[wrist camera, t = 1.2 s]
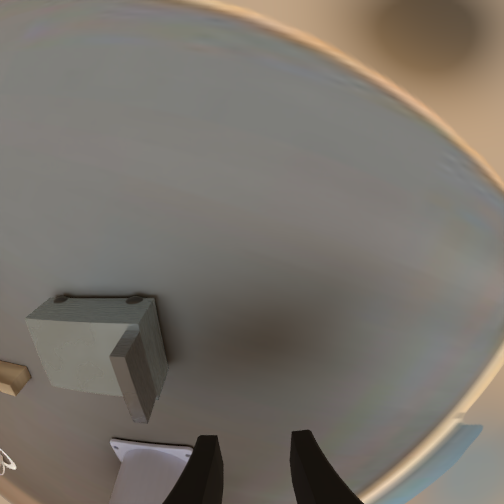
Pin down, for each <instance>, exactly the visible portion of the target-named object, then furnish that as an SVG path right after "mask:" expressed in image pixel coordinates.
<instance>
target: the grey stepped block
mask: <svg viewBox="0 0 504 504" xmlns="http://www.w3.org/2000/svg"><path fill="white" fill-rule="evenodd" d="M25 320H26V323H27V326H28V329H29V332H30V335H31V337H32V340H33V343H34V345H35V348H36V350H37V353H38V355H39V358H40V360H41V363H42V365H43V367H44V370H45V372H46V374H47V376H48V379H49V381H50V383H51V385H52V386H54V387H59V388H65V389H70V390H76V391H82V392H89V393H96V394H103V395H111V396H120V397H124V400H125V402H126V405H127V407H128V410H129V412H130V414H131V417H132V419H133V421H134V422H136V423H146V424H148V421H149V418H150V415H151V412H152V409H153V406H154V403H155V400H159V397H160V394H161V391H162V387H163V384H164V381H165V378H166V375H167V372H168V369H169V367H168V363H167V358H166V354H165V350H164V345H163V340H162V336H161V331H160V326H159V321H158V316H157V310H156V305H155V299H154V298H143V297H140V296H132V297H129V298H68V297H66V296H59V297H57V298H49V299H48V300H47V301H45V302H44V303H43V304H42V305H40V306H39V307H38V308H37V309H36V310H34V311H33V312H32V313H31V314H29V315H28V316H27V317H26V318H25Z"/></svg>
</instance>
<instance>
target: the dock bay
mask: <svg viewBox="0 0 504 504" xmlns="http://www.w3.org/2000/svg"><path fill="white" fill-rule="evenodd" d="M30 378H31V376H30V374H29V371H28V369H27V367H26V366H21V365H17V364H12V363H8V362H4V361H0V391H1V392H4V393H7V394H10V395H13V396H16V395H17V394H18V393H19V392H20V390H21V389H22V388H23V387H24V385H25V384H26V383H27V382H28V381H29V379H30Z"/></svg>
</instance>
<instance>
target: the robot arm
mask: <svg viewBox="0 0 504 504" xmlns="http://www.w3.org/2000/svg"><path fill="white" fill-rule="evenodd" d="M110 444H111V446H112V448H113V449H114V451H115V453H116V455H117V456H118V458H119V460H120V461H121V466H120V469H119V472H118V475H117V478H116V481H115V485H114V488H113V491H112V494H111V497H110V501H109V504H221V503H222V495H223V460H222V456H221V451H220V446H219V442H218V437H217V435H200V436H199V437H198V439H197V442H196V444H195V447H194V449H192V448H190V447H185V446H170V445H158V444H148V443H139V442H132V441H125V440H118V439H111V441H110ZM290 467H291V476H292V483H293V488H294V492H295V496H296V500H297V504H364V503H363V502H362V501H361V500H360V499H359V498H358V497H357V496H356V495H355V494H354V493H353V492H352V491H351V490H350V489H349V487H348V486H347V485H346V484H345V483H344V482H343V480H342V479H341V478H340V477H339V475H338V474H337V473H336V471H335V470H334V469H333V467H332V466H331V464H330V463H329V462H328V460H327V459H326V457H325V455H324V454H323V452H322V451H321V449H320V447H319V446H318V444H317V442H316V440H315V438H314V436H313V434H312V432H311V431H310V430H302V431H293V432H292V437H291V451H290Z"/></svg>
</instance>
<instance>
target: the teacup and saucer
mask: <svg viewBox="0 0 504 504" xmlns="http://www.w3.org/2000/svg"><path fill="white" fill-rule="evenodd" d="M0 451H2V452H3V453H4V454H5V455H6V457H7V458H8V459H9V460H10V462H11V465H9V464H6V463H4V462H3V456H2V455H1V454H0V466H1V464H3V473H2V474H0V475H4V473H5V466H7V467H9V468H11V469H14V470H15V469H16V465H15V463H14V462H13V461H12V460H11V458H10V457H9V456H8V455H7V454H6V453H5V452H4V451H3V450H2V449H0ZM4 465H5V466H4Z"/></svg>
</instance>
